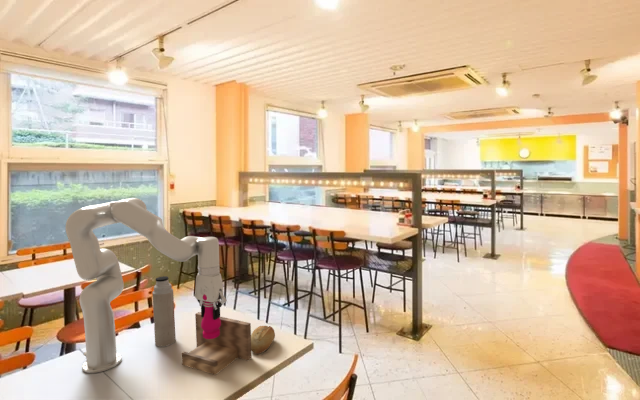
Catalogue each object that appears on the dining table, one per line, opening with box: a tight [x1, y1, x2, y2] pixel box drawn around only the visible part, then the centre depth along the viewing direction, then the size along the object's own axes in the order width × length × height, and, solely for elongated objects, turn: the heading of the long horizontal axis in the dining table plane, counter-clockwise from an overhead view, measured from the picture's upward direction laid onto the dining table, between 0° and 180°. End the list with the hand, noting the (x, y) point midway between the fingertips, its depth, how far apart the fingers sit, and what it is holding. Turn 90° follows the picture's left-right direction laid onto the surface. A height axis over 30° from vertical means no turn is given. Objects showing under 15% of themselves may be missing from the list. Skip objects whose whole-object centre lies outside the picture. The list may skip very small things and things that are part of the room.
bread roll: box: [251, 325, 276, 355], centre depth 145 cm, size 10×15×8 cm, turn 172°
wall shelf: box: [181, 311, 252, 376], centre depth 135 cm, size 26×14×14 cm, turn 65°
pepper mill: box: [201, 294, 221, 339], centre depth 134 cm, size 7×7×20 cm
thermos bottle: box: [152, 275, 177, 348], centre depth 148 cm, size 8×8×28 cm
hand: (210, 316), depth 134 cm, fingers closed on pepper mill, 5 cm apart
